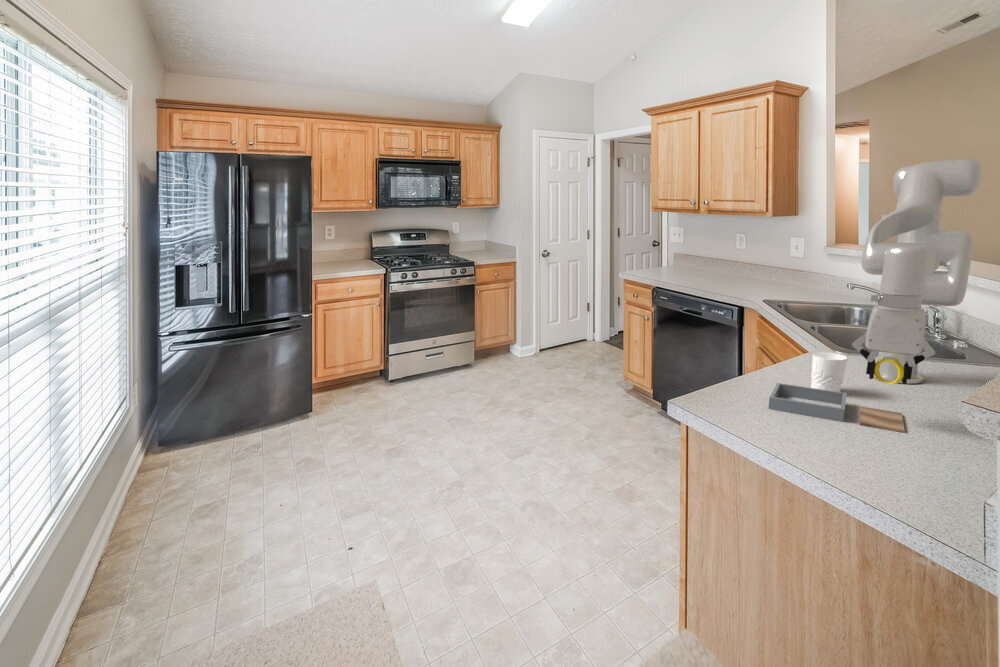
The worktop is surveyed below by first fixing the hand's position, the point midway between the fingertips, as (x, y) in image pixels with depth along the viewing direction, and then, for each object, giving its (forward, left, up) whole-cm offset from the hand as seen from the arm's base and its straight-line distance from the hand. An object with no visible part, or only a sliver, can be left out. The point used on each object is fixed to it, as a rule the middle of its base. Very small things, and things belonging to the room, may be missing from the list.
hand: (887, 378), depth 115 cm
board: (0, 0, -10) cm, 10 cm away
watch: (0, 0, -1) cm, 1 cm away
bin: (-1, -15, -10) cm, 18 cm away
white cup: (-17, -12, -10) cm, 23 cm away
